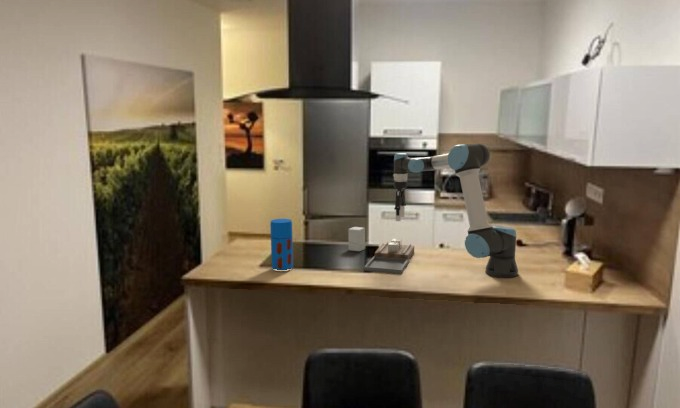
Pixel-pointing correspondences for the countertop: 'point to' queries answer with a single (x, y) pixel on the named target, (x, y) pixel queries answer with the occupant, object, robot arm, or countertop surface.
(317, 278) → the countertop surface
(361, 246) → the supplement box
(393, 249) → the beige block
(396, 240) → the white squarish block
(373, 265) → the tray
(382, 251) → the slot board
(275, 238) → the thermos
